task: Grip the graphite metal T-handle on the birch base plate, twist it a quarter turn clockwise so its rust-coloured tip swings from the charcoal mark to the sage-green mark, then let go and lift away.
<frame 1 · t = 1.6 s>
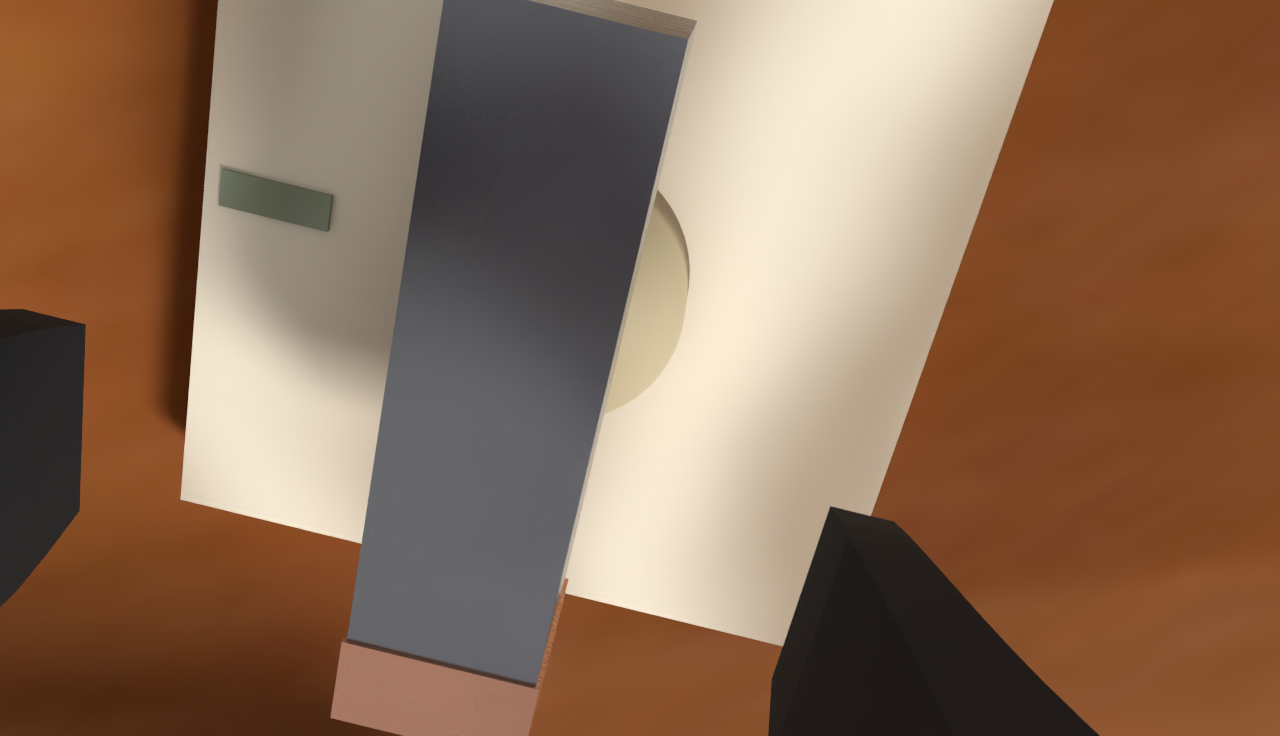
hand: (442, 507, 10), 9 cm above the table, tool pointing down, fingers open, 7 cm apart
base plate: (578, 245, 19), on the table
t key: (520, 359, 14), point 5 cm above the table, hinge at 0.0°
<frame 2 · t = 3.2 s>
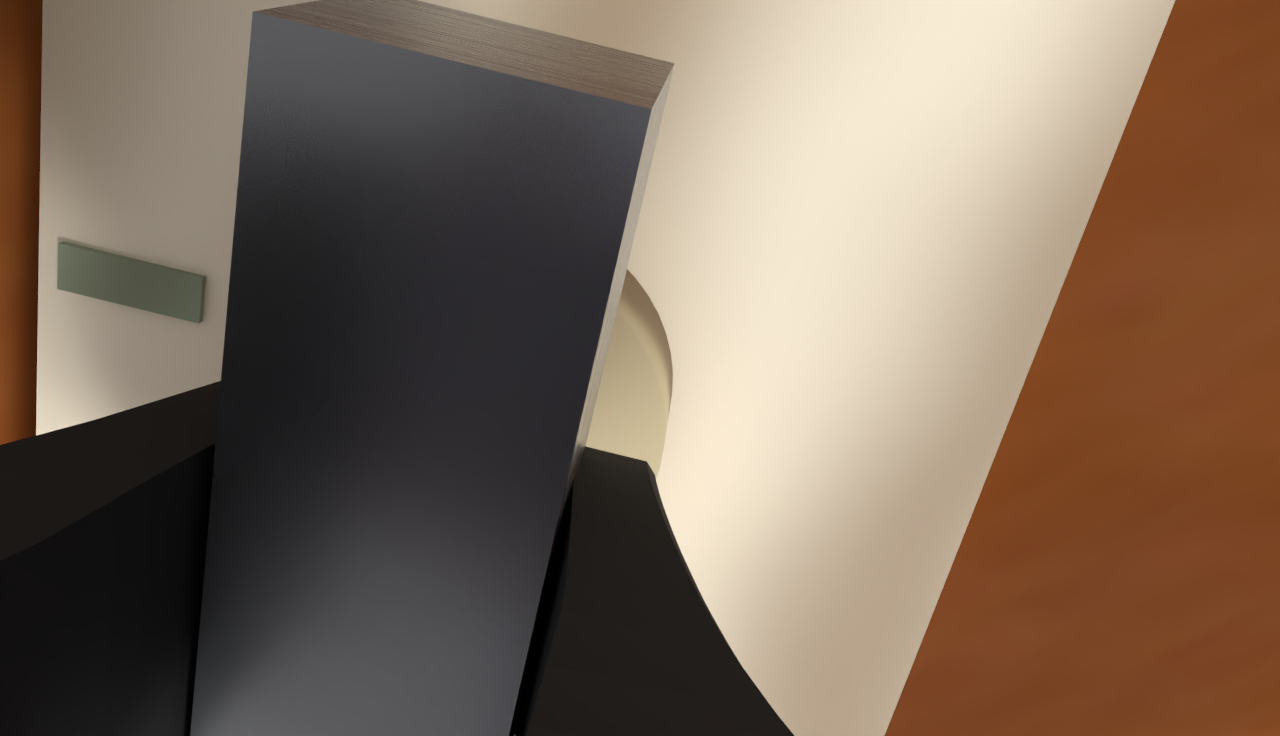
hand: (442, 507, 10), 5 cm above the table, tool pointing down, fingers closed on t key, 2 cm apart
base plate: (532, 332, 15), on the table
t key: (428, 537, 10), point 5 cm above the table, hinge at 0.0°, touching gripper
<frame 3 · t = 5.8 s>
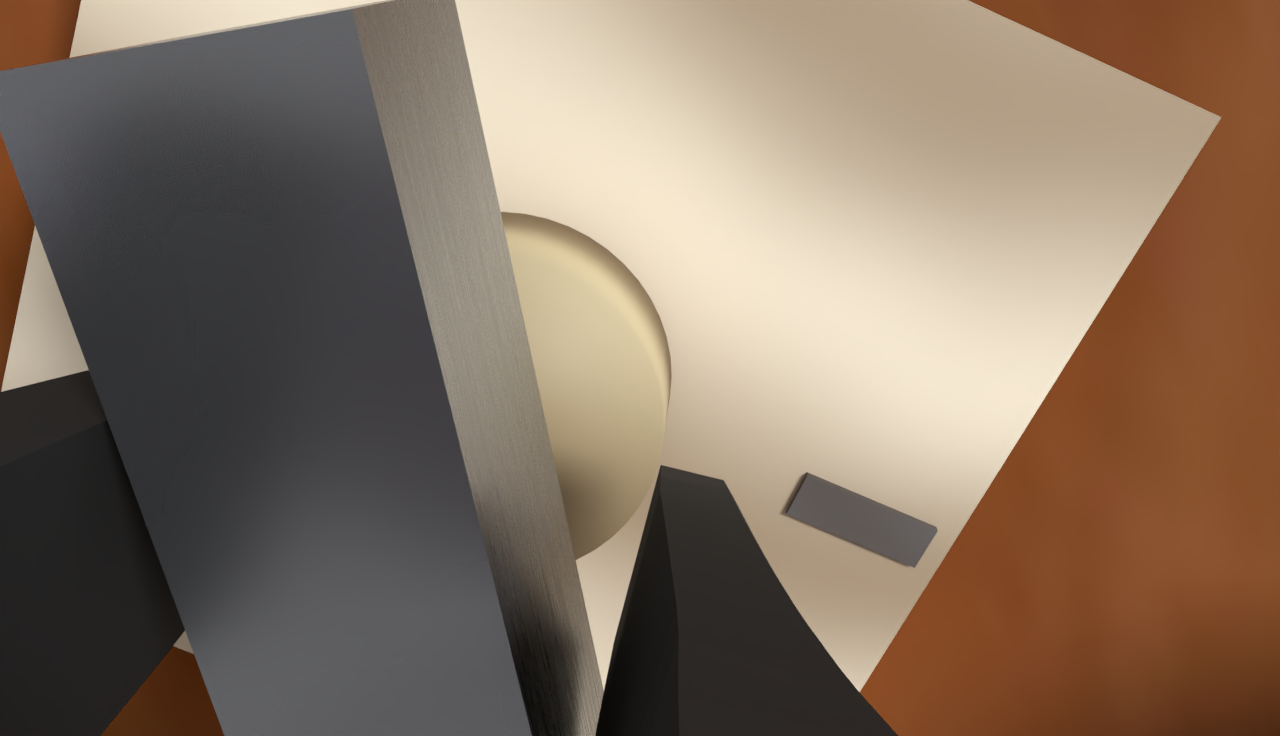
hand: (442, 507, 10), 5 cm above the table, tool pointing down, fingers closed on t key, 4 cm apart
base plate: (531, 329, 15), on the table
t key: (428, 533, 10), point 5 cm above the table, hinge at -57.6°, touching gripper
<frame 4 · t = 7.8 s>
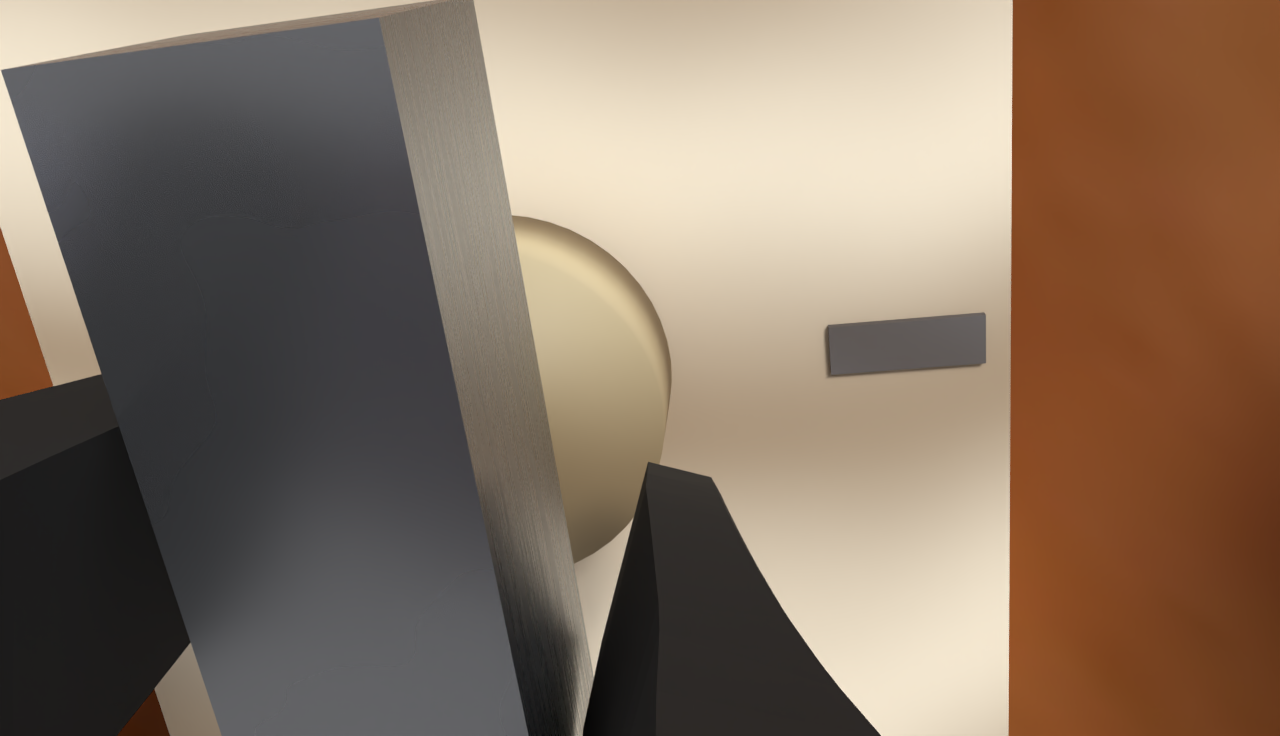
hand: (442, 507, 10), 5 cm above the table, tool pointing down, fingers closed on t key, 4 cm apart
base plate: (531, 332, 15), on the table
t key: (428, 537, 10), point 5 cm above the table, hinge at -89.1°, touching gripper
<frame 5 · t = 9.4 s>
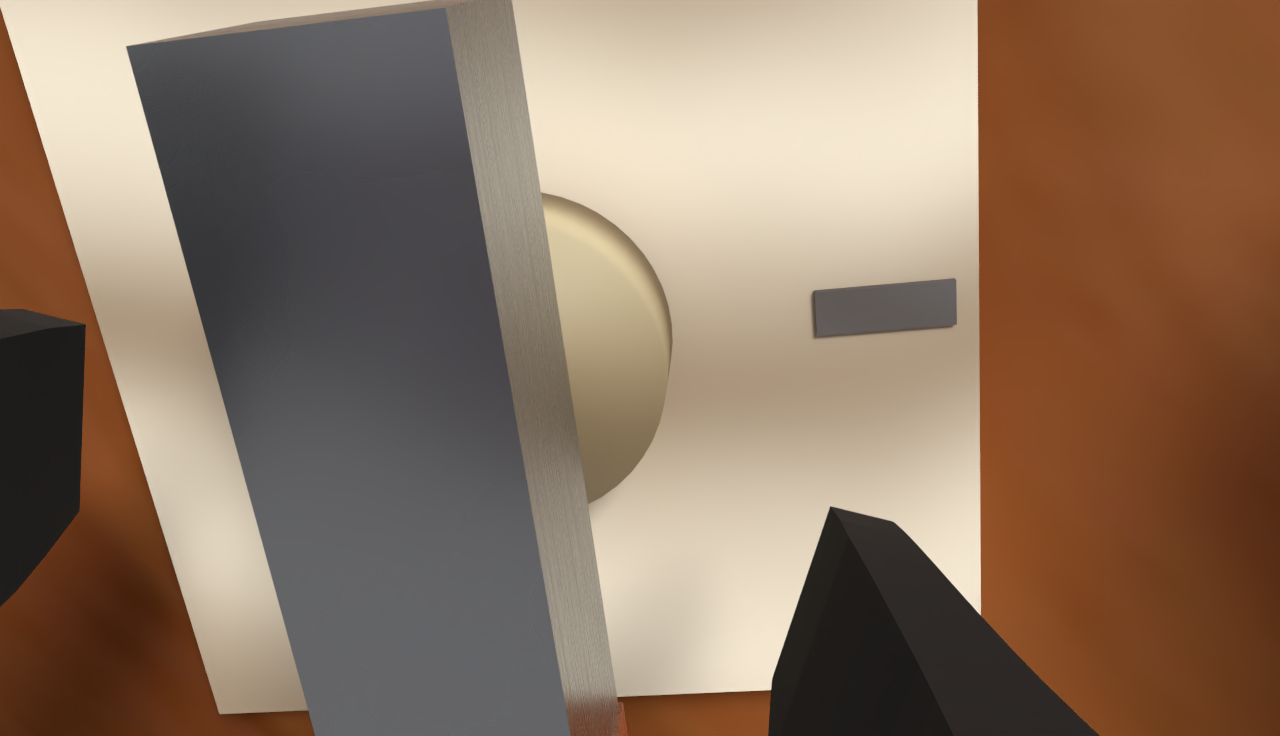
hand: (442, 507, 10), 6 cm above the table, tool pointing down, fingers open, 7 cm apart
base plate: (543, 301, 16), on the table
t key: (459, 468, 11), point 5 cm above the table, hinge at -90.0°
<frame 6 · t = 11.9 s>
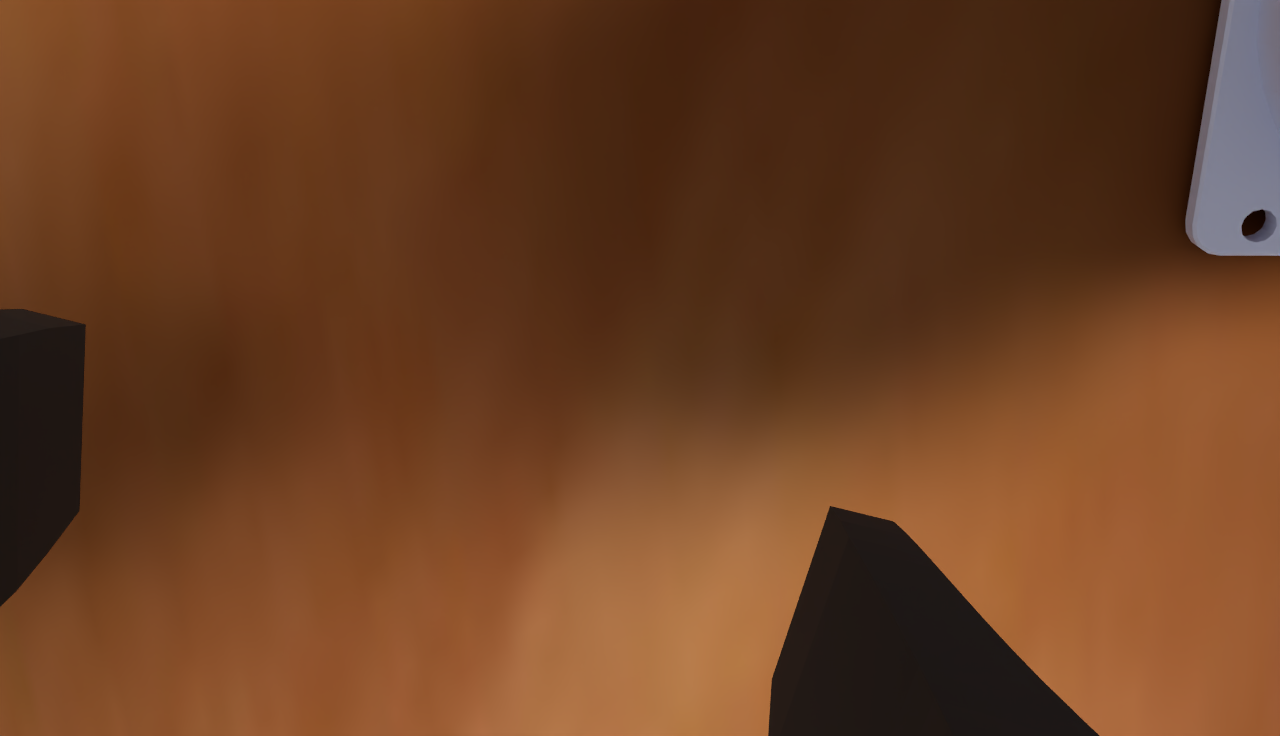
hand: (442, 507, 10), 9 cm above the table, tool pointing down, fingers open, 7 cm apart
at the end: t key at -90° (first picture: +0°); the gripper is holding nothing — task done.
